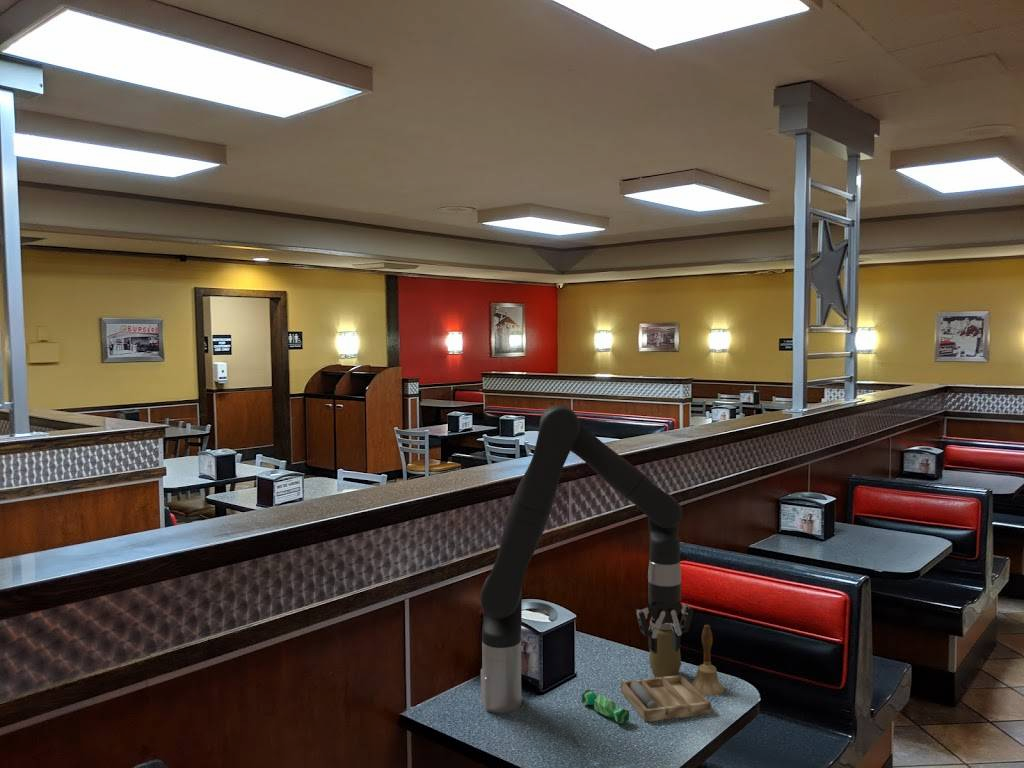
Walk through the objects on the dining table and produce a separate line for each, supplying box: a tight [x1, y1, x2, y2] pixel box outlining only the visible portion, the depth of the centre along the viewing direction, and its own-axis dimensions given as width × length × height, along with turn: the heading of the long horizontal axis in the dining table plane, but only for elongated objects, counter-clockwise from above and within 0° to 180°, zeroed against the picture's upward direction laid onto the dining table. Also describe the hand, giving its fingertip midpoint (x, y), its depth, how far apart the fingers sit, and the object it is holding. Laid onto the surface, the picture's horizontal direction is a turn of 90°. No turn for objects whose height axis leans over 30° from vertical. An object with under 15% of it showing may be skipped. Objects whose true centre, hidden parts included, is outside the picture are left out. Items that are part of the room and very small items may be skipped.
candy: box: [581, 688, 630, 725], centre depth 170 cm, size 12×3×4 cm, turn 36°
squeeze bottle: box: [648, 623, 682, 678], centre depth 189 cm, size 8×8×18 cm
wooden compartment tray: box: [620, 674, 712, 723], centre depth 175 cm, size 16×15×2 cm
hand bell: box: [690, 624, 725, 697], centre depth 182 cm, size 8×8×16 cm
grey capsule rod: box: [631, 681, 658, 709], centre depth 174 cm, size 2×12×2 cm, turn 13°
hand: (664, 650), depth 175 cm, fingers open, 4 cm apart
